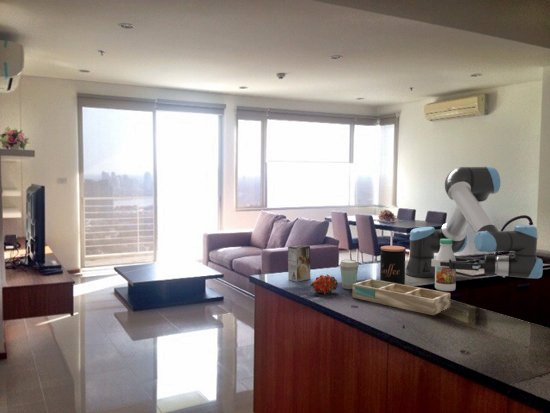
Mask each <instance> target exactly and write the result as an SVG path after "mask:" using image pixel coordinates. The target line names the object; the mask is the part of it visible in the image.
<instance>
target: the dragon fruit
mask: <svg viewBox="0 0 550 413" xmlns="http://www.w3.org/2000/svg"><path fill="white" fill-rule="evenodd" d="M338 285H339V283H338V280H337V278H335V277H334V276H332V275H331V276H330V275H329V274H326V275H322V274H319V276H318V277H316V278H315V280H314V281H313V282H312V283H311V284H310V287H312V288H313V292H315V293H318V294H322V293H323V294H324V295H326V294H330V293H331V294H332V292H333V291H336V290H337V287H338Z"/></svg>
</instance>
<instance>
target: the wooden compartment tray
mask: <svg viewBox="0 0 550 413" xmlns="http://www.w3.org/2000/svg"><path fill="white" fill-rule="evenodd" d="M351 290H352V292H351V293H352V294H351V295H352V298H354V299H358V300H363V301H367V302H372V303H376V304H380V305H386V306H389V307H394V308H398V309H403V310H407V311H413V312H417V313H421V314H426V315H431V316H436V315H437V314H440V313H442V312H444V311H446V310H448V309H450V308H451V292H447V291H441V290H434V289H429V288H424V287H418V286H411V285H407V284H405V285H402V284H397V283H391V282H385V281H380V280H378V279H374V278H373V279H372V278H368V279H366V280H362V281H359V282H356V283H355V284H353V287H352V289H351ZM449 307H450V308H449ZM447 308H448V309H447ZM445 309H446V310H445ZM443 310H444V311H443ZM441 311H442V312H441Z"/></svg>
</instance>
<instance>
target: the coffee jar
mask: <svg viewBox="0 0 550 413" xmlns="http://www.w3.org/2000/svg"><path fill="white" fill-rule="evenodd" d="M380 250H381V251H380V253H379V254H380V256H379V257H380V260H379V261H380V263H379V264H380V266H379V267H380V268H379V269H380V273H379V274H380V275H379V278H380V281H385V282H391V283H397V284H402V285H406V247H404V246H402V245H401V246H400V245H383V246H380Z"/></svg>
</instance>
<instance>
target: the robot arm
mask: <svg viewBox="0 0 550 413" xmlns="http://www.w3.org/2000/svg"><path fill="white" fill-rule="evenodd" d="M499 173H500V172H498V170H497V169H496V168H495V167H493V166H459V167H456V168H454V169H452V170H451V171H450V172H449V173H448V174H447V176H446V178H445V180H444V190H445V193H446V194H447V196H448V197H449V199H450V200H452V201H454V202H455V204H456V206H455V207H454V209H453V211H452V214H451V216H450V218H449V219H448V221H447V222H446V223H443V225H442V226H441V228H440V229H435V227H433V226H421V227H416V228H413V229H411V231H410V232H409V233H410V234H409V237H408V238H409V258H408V261H407V262H408V263H407V265H406V266H405V275H407V276H410V277H415V278H416V277H417V278H433V277H434V278H435V267H448V268H450V269H456V270H463V271H464V270H465V271H476V272H478V271H479V270H483V271H484V273H483V274H484V275H487V276H494V275H495V274H496V276H500V277H502V278H506V277H512V278H513V277H515V278H523V279H540V278H542V276H543V273H544V272H543V270H544V269H543V266H544V264H543V259H542V258H540V257H537V248H538V247H537V246H538V229H537V226H535V225H530V224H528V225H527V224H517V225H515V226H514V229H513V230H499V228H497V226H496V225H495V224H494V222H493V221H492V219H491V218H490V217H489V214H488V213H487V212H486V210H485V209H484V208H483V206H482V205H481V203H483V202H485V201H487V199H488V198H489V196H490V195H494V194H498V192H499V191H500V189H501V176H500V174H499ZM468 226H470V228H471V229H472V231H473V232H474V234H475V235H474V237H473V238H474V239H473V242H474V246H475V249H476V251H478V252H481V253H500V252H503V253H504V252H513V256H509V255H497V256H496V255H493V254H485V255H484V259H480V257H471V256H461V255H460V256H459V255H454V256H455V259H456V261H451V259H449V260H438V259H436V256H437V255H435V254H438V252H439V250H440V246H441V245H440V239H451V240H452V251H453V253H454V254H456V253H461V252H463V251H464V250H465V248H467V244H468V236H467V232H466V229H467V227H468Z"/></svg>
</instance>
